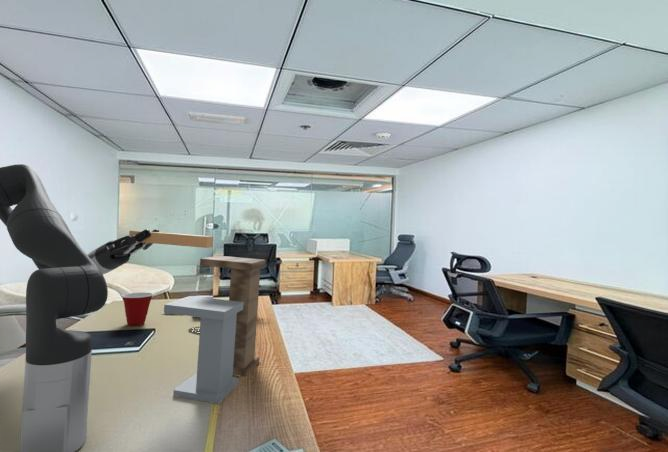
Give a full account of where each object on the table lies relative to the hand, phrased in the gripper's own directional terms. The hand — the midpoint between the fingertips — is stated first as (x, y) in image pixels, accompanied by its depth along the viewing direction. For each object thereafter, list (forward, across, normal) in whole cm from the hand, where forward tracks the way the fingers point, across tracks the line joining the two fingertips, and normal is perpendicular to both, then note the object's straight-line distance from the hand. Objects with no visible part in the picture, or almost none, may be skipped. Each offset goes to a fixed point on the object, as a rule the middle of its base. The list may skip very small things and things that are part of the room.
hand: (153, 232), depth 89 cm
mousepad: (-21, +34, +33) cm, 52 cm away
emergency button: (-42, +52, +21) cm, 70 cm away
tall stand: (-2, +10, +44) cm, 45 cm away
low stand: (-2, -4, +44) cm, 44 cm away
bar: (+3, 0, +5) cm, 6 cm away
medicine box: (-32, +50, +27) cm, 65 cm away
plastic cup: (-46, +31, +18) cm, 58 cm away
